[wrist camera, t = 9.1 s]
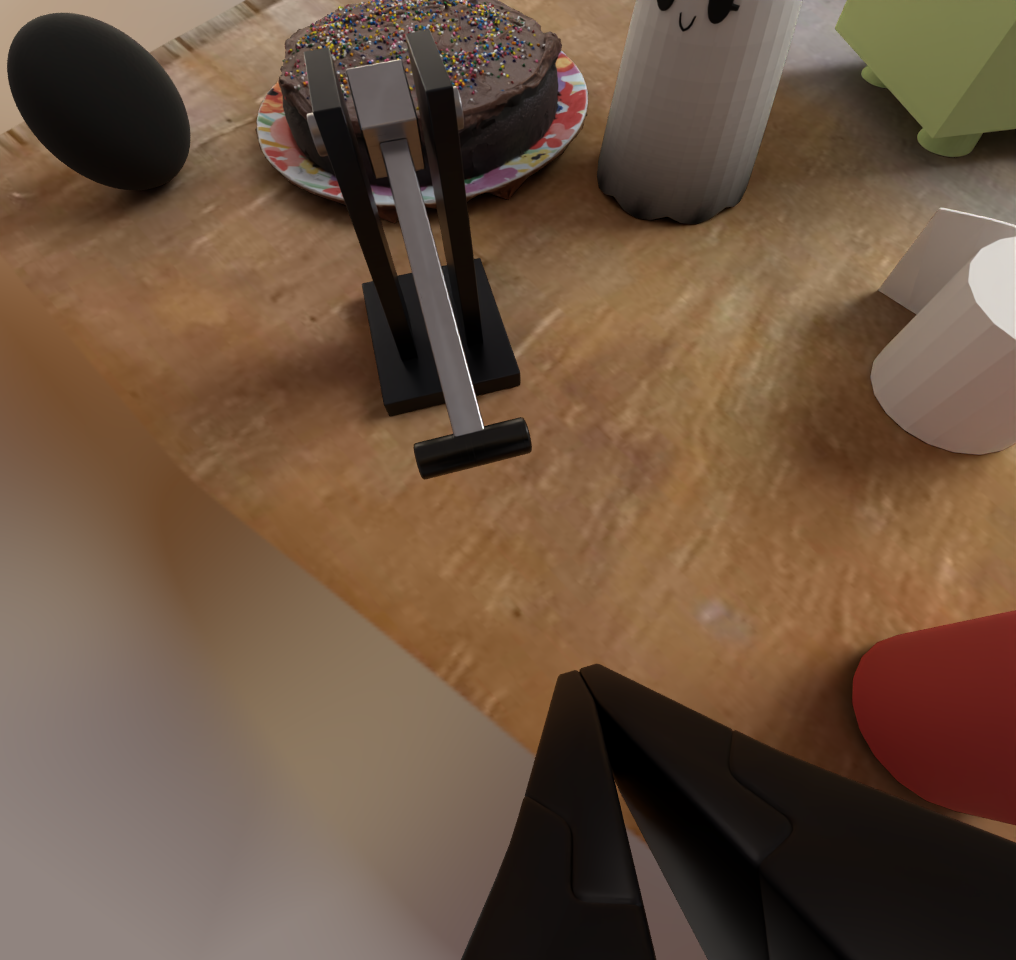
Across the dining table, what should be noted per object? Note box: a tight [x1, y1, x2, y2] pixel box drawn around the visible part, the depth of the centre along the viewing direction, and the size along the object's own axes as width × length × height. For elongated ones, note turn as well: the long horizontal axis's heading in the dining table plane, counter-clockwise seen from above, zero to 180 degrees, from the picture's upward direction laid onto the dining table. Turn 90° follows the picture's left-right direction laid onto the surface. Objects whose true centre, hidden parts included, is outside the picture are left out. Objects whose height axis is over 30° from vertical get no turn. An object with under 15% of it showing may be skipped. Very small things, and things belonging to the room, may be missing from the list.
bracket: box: [304, 30, 520, 416], centre depth 24 cm, size 10×8×14 cm
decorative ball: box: [7, 13, 190, 190], centre depth 35 cm, size 10×10×10 cm
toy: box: [597, 0, 803, 224], centre depth 30 cm, size 11×11×15 cm
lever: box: [346, 60, 532, 479], centre depth 18 cm, size 16×4×2 cm, turn 15°
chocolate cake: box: [255, 0, 588, 223], centre depth 39 cm, size 28×28×7 cm
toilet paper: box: [870, 207, 1016, 455], centre depth 25 cm, size 8×11×7 cm
